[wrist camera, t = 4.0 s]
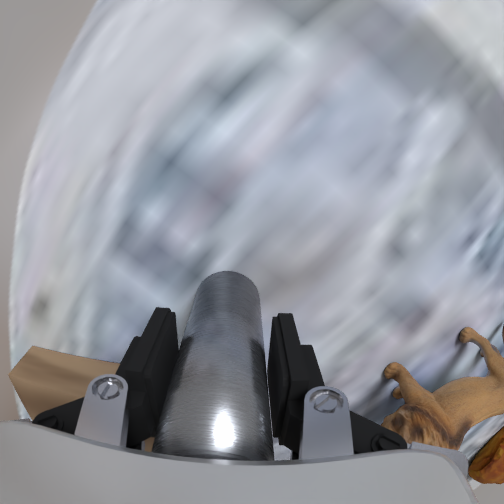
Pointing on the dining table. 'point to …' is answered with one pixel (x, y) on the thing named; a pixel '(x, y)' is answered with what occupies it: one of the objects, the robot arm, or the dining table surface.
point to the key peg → (219, 378)
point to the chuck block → (57, 380)
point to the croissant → (489, 461)
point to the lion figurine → (447, 400)
